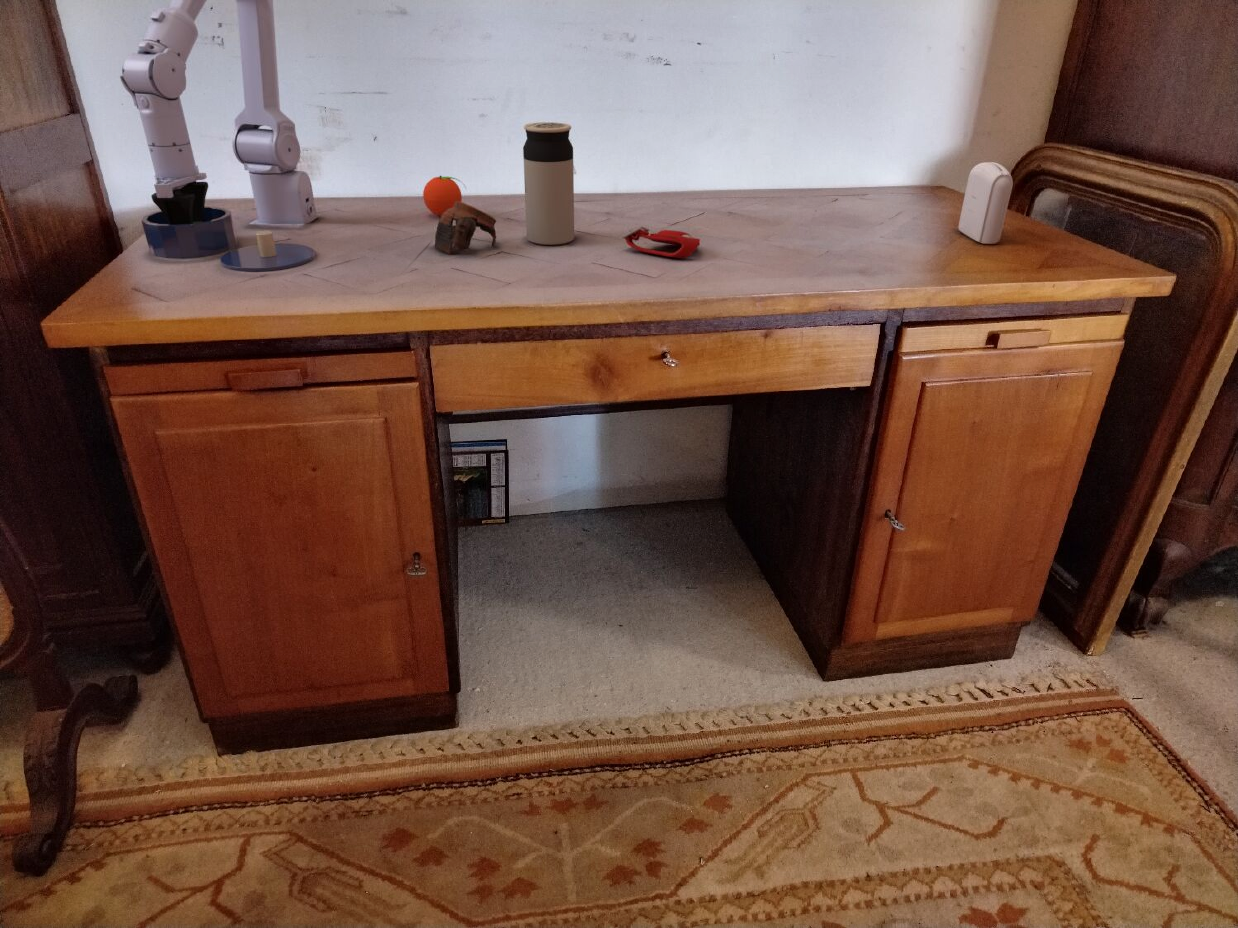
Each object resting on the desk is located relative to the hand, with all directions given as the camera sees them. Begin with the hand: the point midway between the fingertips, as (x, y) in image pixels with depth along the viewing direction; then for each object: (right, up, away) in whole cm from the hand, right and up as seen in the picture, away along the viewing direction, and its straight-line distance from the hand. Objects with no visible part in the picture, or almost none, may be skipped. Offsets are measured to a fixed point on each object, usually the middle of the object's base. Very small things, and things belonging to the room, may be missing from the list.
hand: (191, 235), depth 129 cm
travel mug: (+55, +2, +10) cm, 56 cm away
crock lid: (+14, -5, -4) cm, 15 cm away
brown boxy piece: (+42, -1, +4) cm, 42 cm away
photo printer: (+130, +4, +15) cm, 131 cm away
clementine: (+35, +10, +24) cm, 43 cm away
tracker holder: (+74, -1, +5) cm, 74 cm away
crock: (0, -2, +1) cm, 2 cm away
